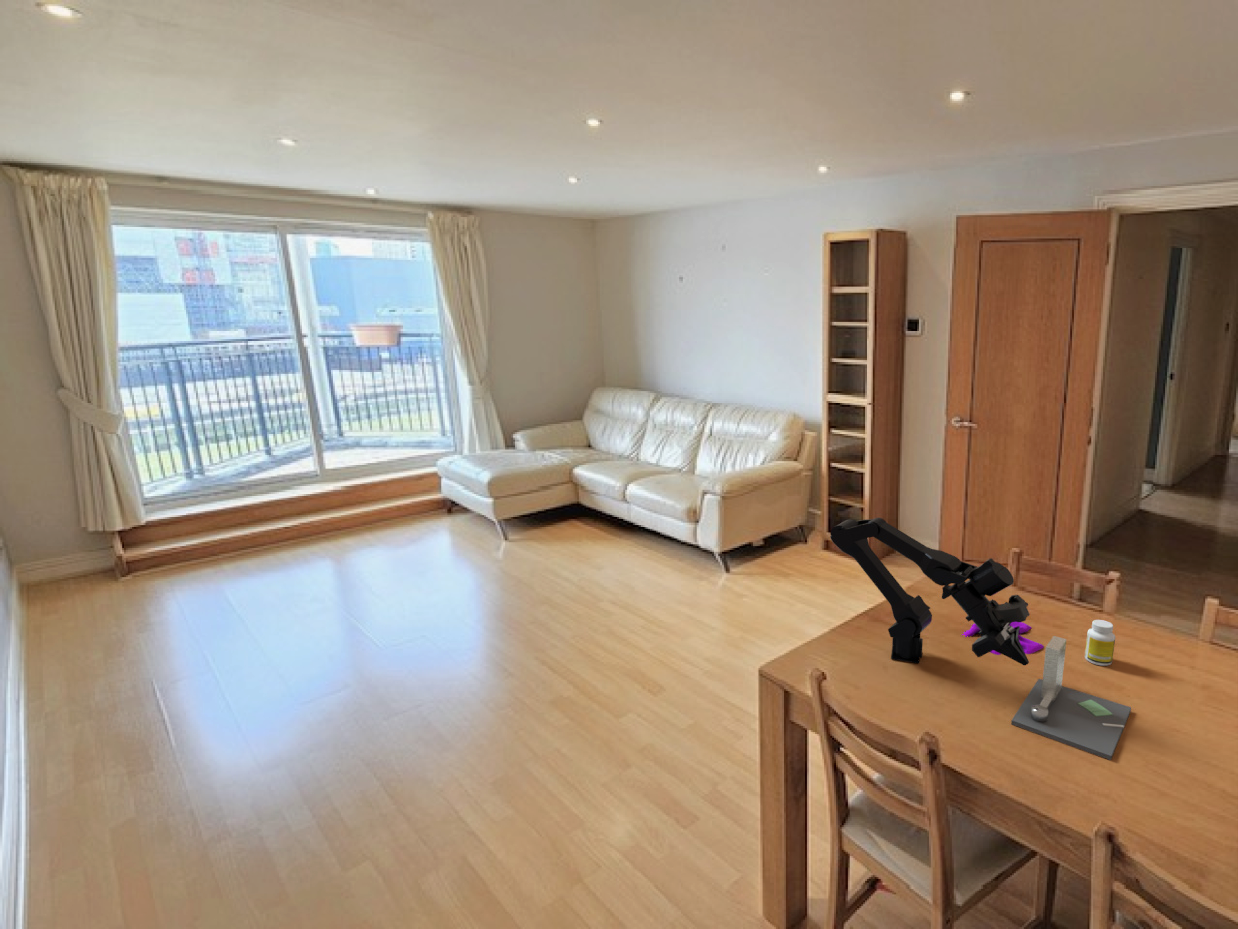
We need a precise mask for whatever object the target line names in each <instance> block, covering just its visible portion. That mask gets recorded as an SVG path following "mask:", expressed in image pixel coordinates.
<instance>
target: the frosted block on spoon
mask: <svg viewBox="0 0 1238 929" xmlns="http://www.w3.org/2000/svg"><path fill="white" fill-rule="evenodd" d="M1066 648H1067V638H1063V637H1060V636H1056V635H1053V636H1052V637H1051V639H1050V640H1049V642H1048V643H1047V644H1046V646H1045V652H1044V663H1043V673H1042V680H1043V682H1042V693H1041V697H1043V700H1042V701H1041V703H1040V705H1033V706H1032V707H1031V718H1033V719H1034V720H1036V721H1039V722H1046V721H1047V720H1048V708H1049V707H1050V705H1051V703H1052V702H1053V701H1054V700H1055V699H1056V697H1057V695H1058V693H1059V692H1060V690H1061V688H1062V686H1063V677H1064V667H1065V658H1066Z"/></svg>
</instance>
